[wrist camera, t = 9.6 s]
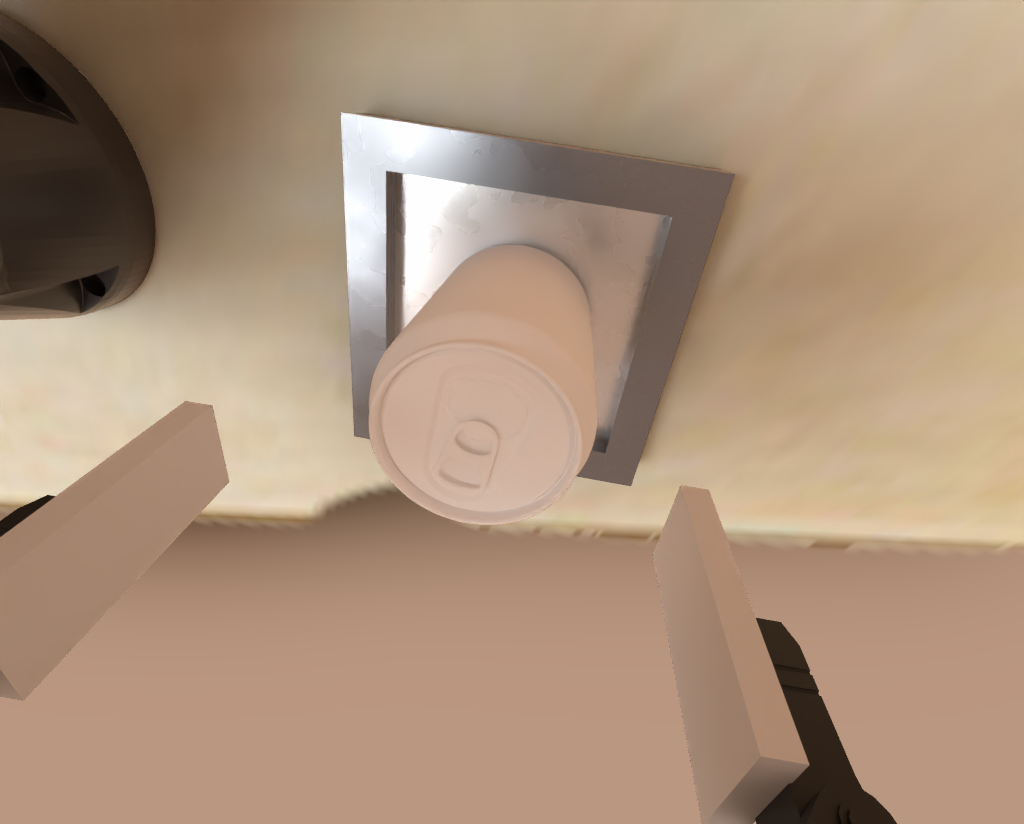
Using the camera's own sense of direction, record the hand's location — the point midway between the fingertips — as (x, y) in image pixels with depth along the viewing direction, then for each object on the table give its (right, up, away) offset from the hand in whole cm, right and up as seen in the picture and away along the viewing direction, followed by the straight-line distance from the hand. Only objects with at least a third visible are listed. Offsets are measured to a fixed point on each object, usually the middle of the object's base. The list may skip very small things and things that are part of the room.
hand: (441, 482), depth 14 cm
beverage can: (+2, +7, +13) cm, 15 cm away
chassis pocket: (+2, +8, +13) cm, 16 cm away
